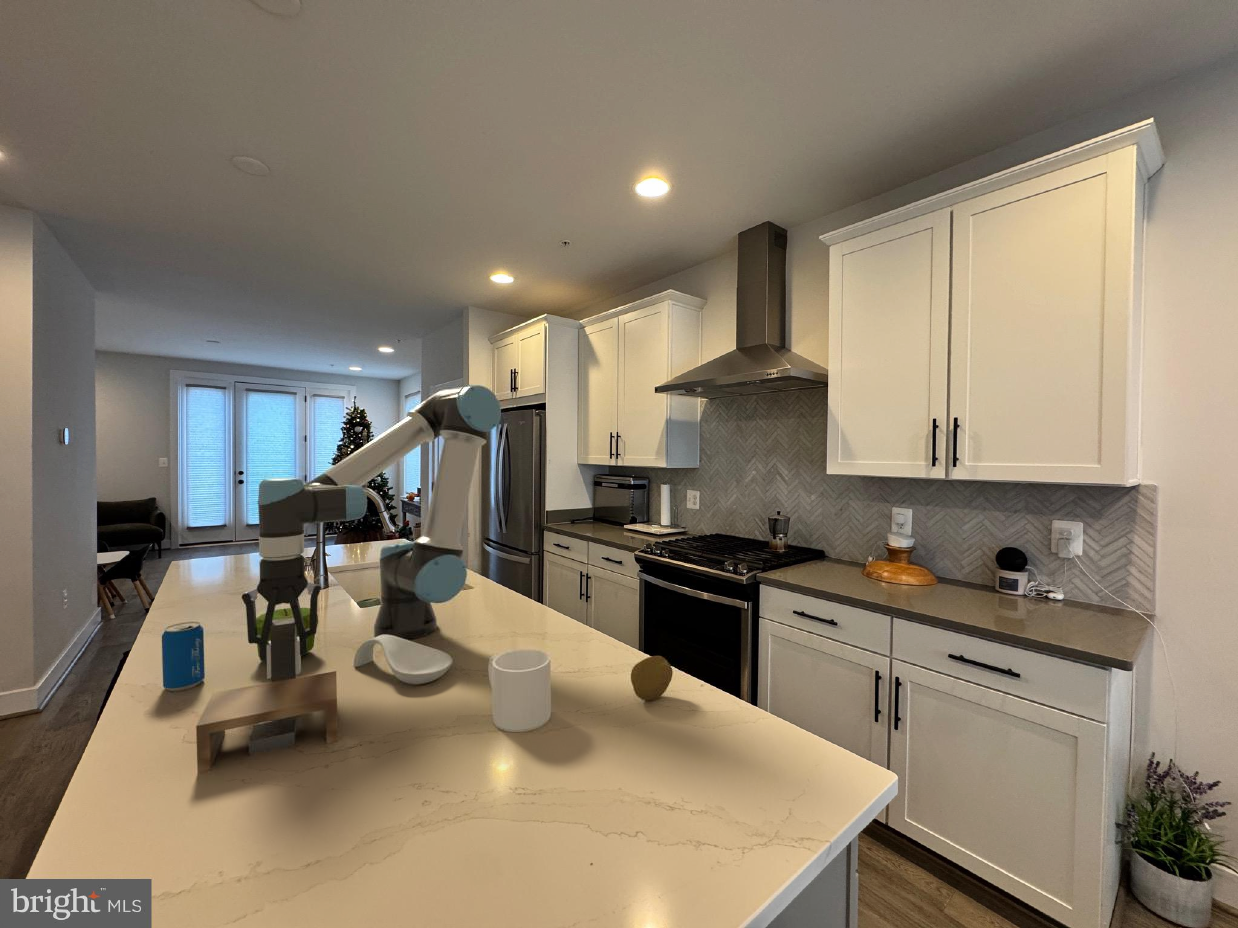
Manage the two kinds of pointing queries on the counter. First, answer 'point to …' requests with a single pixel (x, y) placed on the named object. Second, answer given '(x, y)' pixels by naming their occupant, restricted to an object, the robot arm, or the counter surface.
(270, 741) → the block
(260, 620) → the apple
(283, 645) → the grey metal prism
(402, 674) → the spoon rest
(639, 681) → the potato
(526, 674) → the mug
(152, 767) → the counter surface
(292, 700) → the walnut shelf
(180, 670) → the beverage can
